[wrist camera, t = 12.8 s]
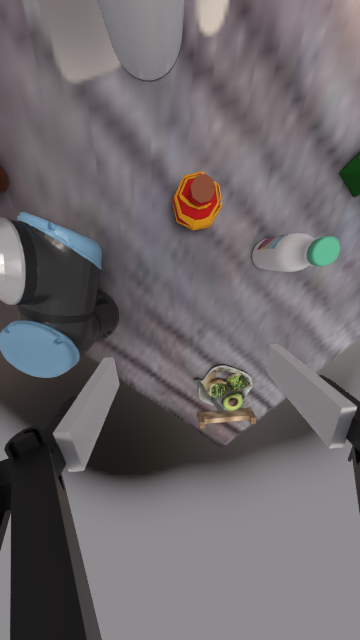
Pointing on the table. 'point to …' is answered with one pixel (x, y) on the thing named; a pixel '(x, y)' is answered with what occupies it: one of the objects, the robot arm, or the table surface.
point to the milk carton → (352, 176)
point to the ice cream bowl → (3, 180)
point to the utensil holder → (145, 34)
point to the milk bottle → (295, 252)
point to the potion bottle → (196, 201)
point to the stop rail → (226, 416)
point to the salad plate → (224, 388)
